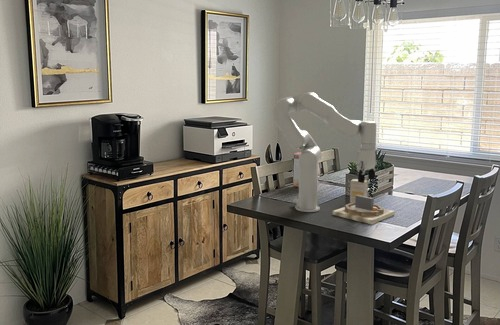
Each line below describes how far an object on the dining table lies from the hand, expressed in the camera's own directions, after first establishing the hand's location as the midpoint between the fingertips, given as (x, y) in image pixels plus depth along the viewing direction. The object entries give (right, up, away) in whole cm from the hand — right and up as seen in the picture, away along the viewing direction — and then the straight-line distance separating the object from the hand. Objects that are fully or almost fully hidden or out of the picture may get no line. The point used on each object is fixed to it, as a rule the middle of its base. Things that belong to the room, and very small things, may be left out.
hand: (366, 180), depth 251 cm
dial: (-1, -15, +3) cm, 15 cm away
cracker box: (-24, -7, +58) cm, 64 cm away
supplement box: (+1, -14, +24) cm, 27 cm away
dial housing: (-1, -17, +3) cm, 18 cm away
